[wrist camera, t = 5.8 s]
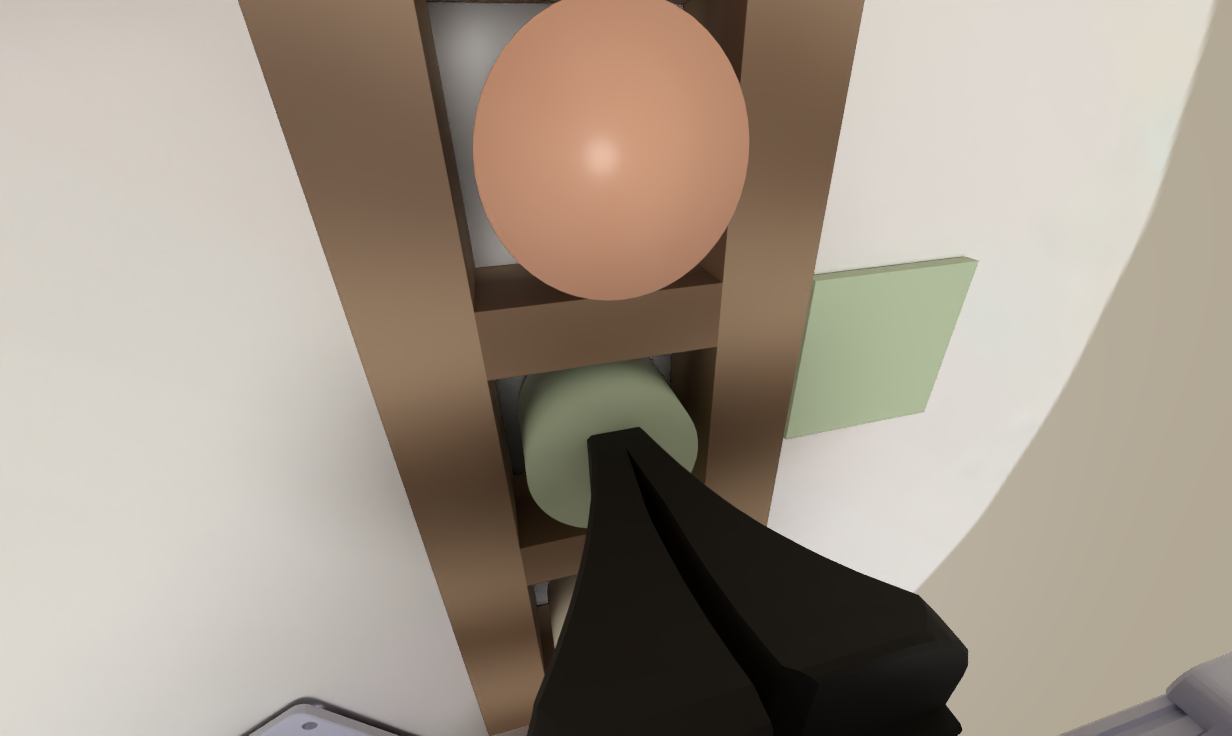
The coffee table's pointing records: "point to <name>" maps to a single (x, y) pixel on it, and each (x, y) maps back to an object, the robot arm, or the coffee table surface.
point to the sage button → (593, 427)
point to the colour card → (874, 343)
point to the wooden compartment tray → (544, 291)
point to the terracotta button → (611, 146)
